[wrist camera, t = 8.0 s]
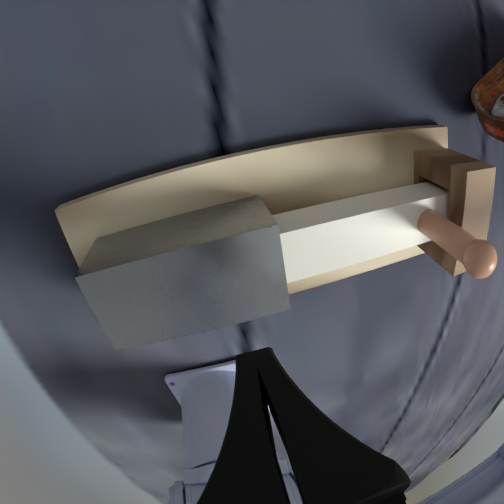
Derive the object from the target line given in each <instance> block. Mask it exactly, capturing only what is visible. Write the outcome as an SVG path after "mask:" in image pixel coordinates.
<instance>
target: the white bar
mask: <svg viewBox="0 0 504 504" xmlns="http://www.w3.org/2000/svg"><path fill="white" fill-rule="evenodd" d="M449 196H450V190H448V189H446V188H444V187H442V186H440V185H438V184H436V183H434V182H432V181H428V182H423V183H418V184H413V185H408V186H403V187H398V188H393V189H388V190H384V191H379V192H374V193H369V194H365V195H360V196H355V197H351V198H346V199H341V200H337V201H332V202H328V203H323V204H319V205H315V206H310V207H306V208H301V209H297V210H293V211H288V212H284V213H280V214H276V215H272V216H273V218H274V219H275V221H276V222H277V224H278V226H279V233H280V239H281V246H282V252H283V259H284V266H285V273H286V280H287V283H290V282H293V281H297V280H301V279H304V278H308V277H312V276H315V275H319V274H322V273H326V272H329V271H333V270H336V269H340V268H343V267H347V266H350V265H354V264H357V263H360V262H364V261H367V260H370V259H374V258H377V257H380V256H384V255H387V254H390V253H394V252H397V251H400V250H403V249H406V248H410V247H413V246H416V245H419V244H422V243H425V242H428V241H433V242H435V243H436V244H437V245H439V246H440V247H441V248H443V249H444V250H445V251H447V252H448V253H449V254H450V255H452V256H453V257H454V258H455V259H457V260H458V261H459V262H460V263H462V264H463V265H464V268H465V270H466V271H467V273H468V274H469V275H470V276H472V277H474V278H477V279H483V278H486V277H488V276H489V275H490V274H492V272H493V271H494V269H495V267H496V264H497V253H496V250H495V248H494V247H493V245H492V244H491V243H489V242H488V241H486V240H483V239H477V238H476V237H474V236H473V235H471V234H470V233H468V232H467V231H465V230H464V229H462V228H461V227H459V226H458V225H456V224H455V223H453V222H452V221H450V220H449V219H448V209H449Z"/></svg>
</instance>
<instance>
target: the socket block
mask: <svg viewBox="0 0 504 504" xmlns="http://www.w3.org/2000/svg"><path fill="white" fill-rule="evenodd" d="M413 152H414V184H418V183H423V182H428V181H432V182H434V183H436V184H438V185H440V186H442V187H444V188H446V189H448V190H450V196H449V209H448V219H449V220H450V221H452V222H453V223H455V224H456V225H458V226H459V227H461V228H462V229H464V230H465V231H467V232H468V233H470V234H471V235H473V236H474V237H476V238H477V239H483V240H486V239H487V233H488V228H489V222H490V215H491V208H492V201H493V192H494V183H495V171H496V167H494V166H492V165H490V164H487V163H485V162H482V161H480V160H477V159H475V158H472V157H469V156H467V155H464V154H461V153H459V152H456V151H453V150H450V149H447V148H444V147H440V148H431V149H423V150H415V151H413ZM416 246H418V247H419V248H420V249H421V250H423V251H424V252H425V253H426V254H428V255H429V256H430V257H431V258H432V259H434V260H435V261H436V262H437V263H438V264H439V265H441V266H442V267H443V268H444V269H445V270H446V271H448V272H449V273H450V274H451V275H452V276H456V275H458V274H460V273H463V272H465V271H466V270H465V268H464V265H463V264H462V263H460V262H459V261H458V260H457V259H455V258H454V257H453V256H452V255H450V254H449V253H448V252H447V251H445V250H444V249H443V248H441V247H440V246H439V245H437V244H436V243H435V242H433V241H428V242H425V243H422V244H419V245H416Z"/></svg>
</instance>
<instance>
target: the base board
mask: <svg viewBox="0 0 504 504" xmlns="http://www.w3.org/2000/svg"><path fill="white" fill-rule="evenodd" d="M440 147H444V148H447V149H448V131H447V127H446V126H442V125H424V126H410V127H398V128H387V129H377V130H368V131H360V132H352V133H344V134H337V135H330V136H323V137H317V138H310V139H304V140H298V141H293V142H287V143H282V144H276V145H271V146H266V147H261V148H256V149H251V150H246V151H242V152H237V153H233V154H228V155H224V156H220V157H215V158H211V159H207V160H203V161H199V162H195V163H191V164H187V165H183V166H180V167H176V168H172V169H169V170H165V171H161V172H158V173H154V174H151V175H148V176H144V177H141V178H138V179H134V180H131V181H128V182H125V183H122V184H118V185H115V186H112V187H109V188H106V189H103V190H100V191H97V192H94V193H92V194H89V195H86V196H83V197H80V198H77V199H75V200H72V201H69V202H67V203H64V204H61V205H60V206H59V207H58V208H57V209H56V210H54V211H55V213H56V216H57V218H58V221H59V223H60V226H61V228H62V230H63V233H64V235H65V238H66V240H67V242H68V244H69V247H70V249H71V251H72V253H73V256H74V258H75V260H76V262H77V264H78V266H79V268H80V266H81V265H82V263H83V261H84V259H85V257H86V255H87V254H88V252H89V250H90V248H91V246H92V245H93V243H94V241H95V239H96V238H99V237H102V236H105V235H109V234H112V233H115V232H119V231H122V230H126V229H129V228H133V227H136V226H140V225H143V224H147V223H150V222H154V221H157V220H161V219H165V218H168V217H172V216H176V215H180V214H183V213H187V212H191V211H195V210H199V209H203V208H207V207H210V206H214V205H219V204H223V203H227V202H231V201H235V200H239V199H243V198H247V197H252V196H256V195H259V197H260V198H261V200H262V201H263V203H264V204H265V206H266V207H267V209H268V210H269V212H270V213H271V215H276V214H280V213H284V212H288V211H293V210H297V209H301V208H306V207H310V206H315V205H319V204H323V203H328V202H332V201H337V200H341V199H346V198H351V197H355V196H360V195H365V194H369V193H374V192H379V191H384V190H388V189H393V188H398V187H403V186H408V185H413V184H414V152H413V151H415V150H423V149H431V148H440ZM422 253H425V252H424V251H423V250H421V249H420V248H419V247H418V246H413V247H410V248H406V249H403V250H400V251H397V252H394V253H390V254H387V255H384V256H380V257H377V258H374V259H370V260H367V261H364V262H360V263H357V264H354V265H350V266H347V267H343V268H340V269H336V270H333V271H329V272H326V273H322V274H319V275H315V276H312V277H308V278H304V279H301V280H297V281H293V282H290V283H287V287H288V294H291V293H295V292H298V291H302V290H305V289H309V288H313V287H316V286H319V285H323V284H326V283H330V282H333V281H337V280H340V279H343V278H347V277H350V276H353V275H357V274H360V273H363V272H366V271H370V270H373V269H376V268H379V267H382V266H385V265H389V264H392V263H395V262H398V261H401V260H404V259H407V258H410V257H413V256H416V255H419V254H422Z"/></svg>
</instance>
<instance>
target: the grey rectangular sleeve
mask: <svg viewBox="0 0 504 504" xmlns="http://www.w3.org/2000/svg"><path fill="white" fill-rule="evenodd" d="M75 279H76V281H77V283H78V285H79V287H80V289H81V291H82V293H83V295H84V297H85V299H86V300H87V302H88V304H89V306H90V308H91V309H92V311H93V313H94V315H95V317H96V318H97V320H98V322H99V323H100V325H101V327H102V329H103V330H104V332H105V334H106V335H107V337H108V339H109V340H110V342H111V343H112V345H113V347H114V348H115V350H119V349H124V348H130V347H135V346H140V345H145V344H150V343H155V342H160V341H164V340H169V339H174V338H178V337H183V336H187V335H192V334H196V333H200V332H205V331H209V330H213V329H217V328H222V327H226V326H230V325H234V324H238V323H242V322H246V321H249V320H253V319H257V318H261V317H265V316H268V315H272V314H276V313H279V312H283V311H287V310H290V309H291V308H290V301H289V294H288V287H287V280H286V273H285V266H284V259H283V252H282V246H281V239H280V233H279V226H278V224H277V222H276V221H275V219H274V218H273V216H272V215H271V213H270V212H269V210H268V209H267V207H266V206H265V204H264V203H263V201H262V200H261V198H260V197H259V195H256V196H252V197H247V198H243V199H239V200H235V201H231V202H227V203H223V204H219V205H214V206H210V207H207V208H203V209H199V210H195V211H191V212H187V213H183V214H180V215H176V216H172V217H168V218H165V219H161V220H157V221H154V222H150V223H147V224H143V225H140V226H136V227H133V228H129V229H126V230H122V231H119V232H115V233H112V234H109V235H105V236H102V237H99V238H96V239H95V241H94V243H93V245H92V246H91V248H90V250H89V252H88V254H87V255H86V257H85V259H84V261H83V263H82V265H81V266H80V268H79V270H78V272H77V274H76V276H75Z"/></svg>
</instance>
